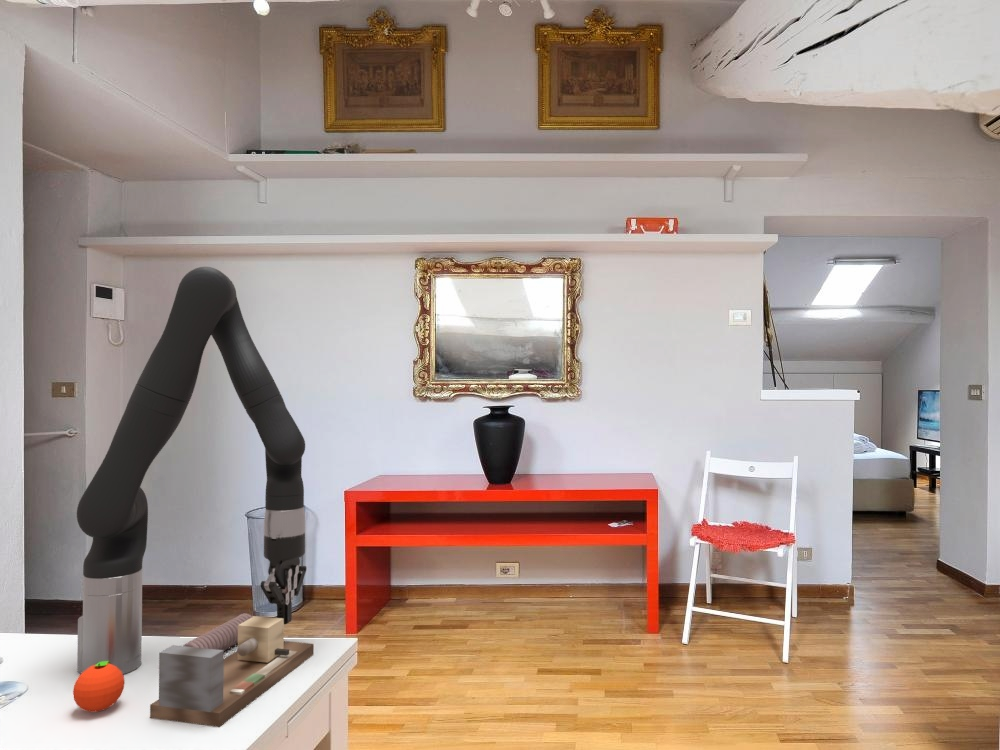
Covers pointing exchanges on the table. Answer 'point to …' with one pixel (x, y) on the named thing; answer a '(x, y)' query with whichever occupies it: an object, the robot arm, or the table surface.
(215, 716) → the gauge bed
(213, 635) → the coil
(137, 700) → the table surface
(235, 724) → the table surface
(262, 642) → the block
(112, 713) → the table surface
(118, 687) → the clementine
